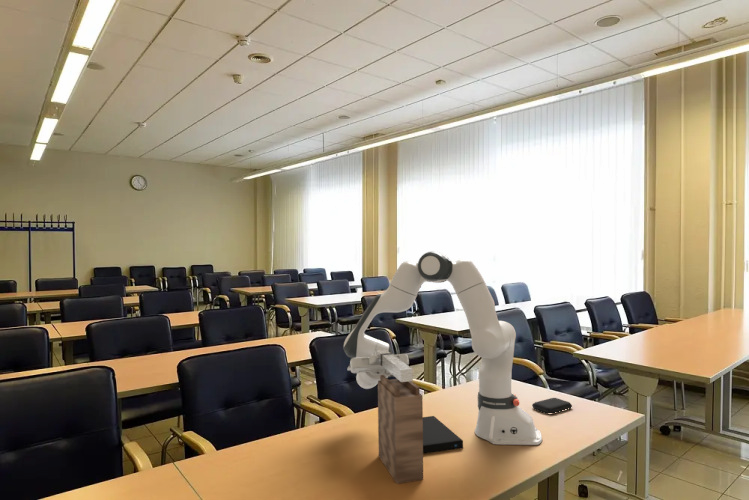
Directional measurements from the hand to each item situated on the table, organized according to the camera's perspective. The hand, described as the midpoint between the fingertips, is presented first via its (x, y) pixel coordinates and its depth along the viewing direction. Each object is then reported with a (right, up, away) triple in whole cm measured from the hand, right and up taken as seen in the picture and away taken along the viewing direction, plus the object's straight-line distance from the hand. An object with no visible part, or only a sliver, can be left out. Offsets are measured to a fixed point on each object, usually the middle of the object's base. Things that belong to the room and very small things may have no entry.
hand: (384, 356), depth 155 cm
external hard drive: (+16, -31, +8) cm, 35 cm away
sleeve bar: (+2, -2, -8) cm, 9 cm away
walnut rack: (+4, -30, -14) cm, 34 cm away
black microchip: (+68, -30, +36) cm, 83 cm away
